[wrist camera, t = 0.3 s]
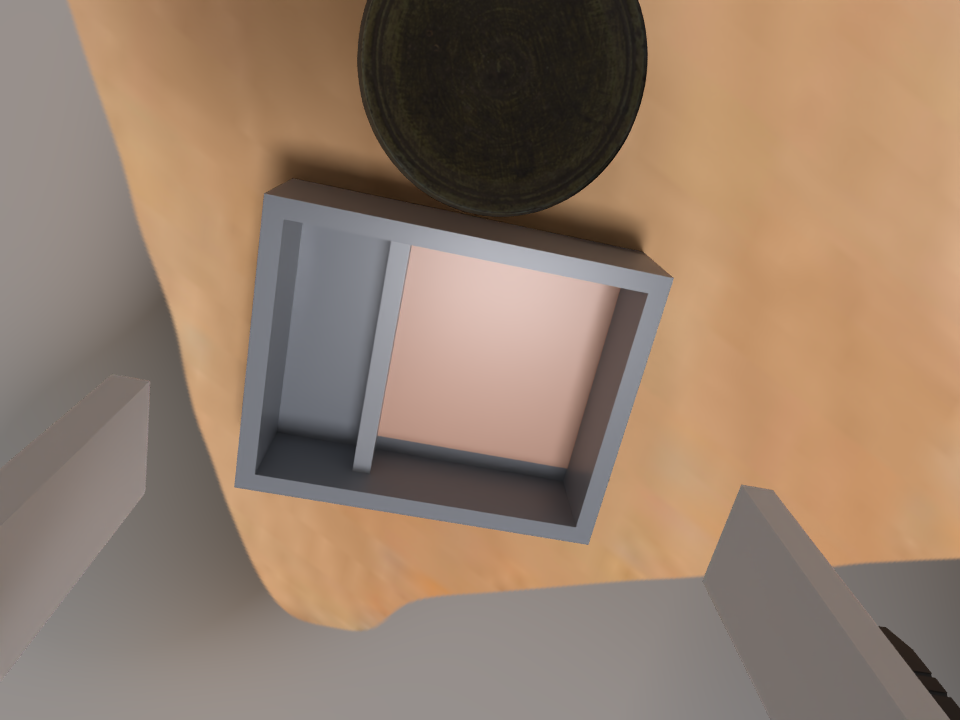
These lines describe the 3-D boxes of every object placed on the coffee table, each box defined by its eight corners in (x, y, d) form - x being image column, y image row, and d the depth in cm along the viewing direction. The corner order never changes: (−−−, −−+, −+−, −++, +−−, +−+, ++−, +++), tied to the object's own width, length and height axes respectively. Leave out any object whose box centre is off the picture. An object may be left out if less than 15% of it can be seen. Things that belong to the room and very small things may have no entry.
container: (359, 65, 36) (273, 43, 19) (495, -60, 34) (534, -205, 17) (468, 202, 39) (478, 288, 22) (600, 94, 37) (722, 96, 20)
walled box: (292, 178, 38) (264, 193, 32) (643, 251, 40) (673, 278, 34) (263, 436, 43) (234, 487, 38) (572, 488, 45) (588, 544, 40)
